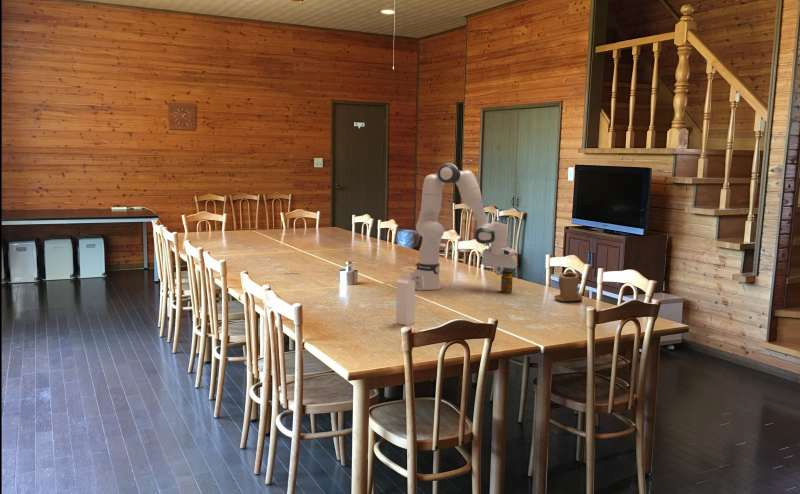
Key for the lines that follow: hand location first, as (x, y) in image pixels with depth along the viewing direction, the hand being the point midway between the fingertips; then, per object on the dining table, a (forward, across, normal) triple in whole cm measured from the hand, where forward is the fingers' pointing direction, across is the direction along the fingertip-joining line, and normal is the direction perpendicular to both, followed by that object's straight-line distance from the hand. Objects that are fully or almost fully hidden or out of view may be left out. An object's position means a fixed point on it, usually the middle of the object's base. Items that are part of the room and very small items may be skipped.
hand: (498, 274), depth 364 cm
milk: (+9, -1, -88) cm, 89 cm away
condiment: (+10, +4, 0) cm, 11 cm away
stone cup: (+10, +40, +2) cm, 42 cm away
